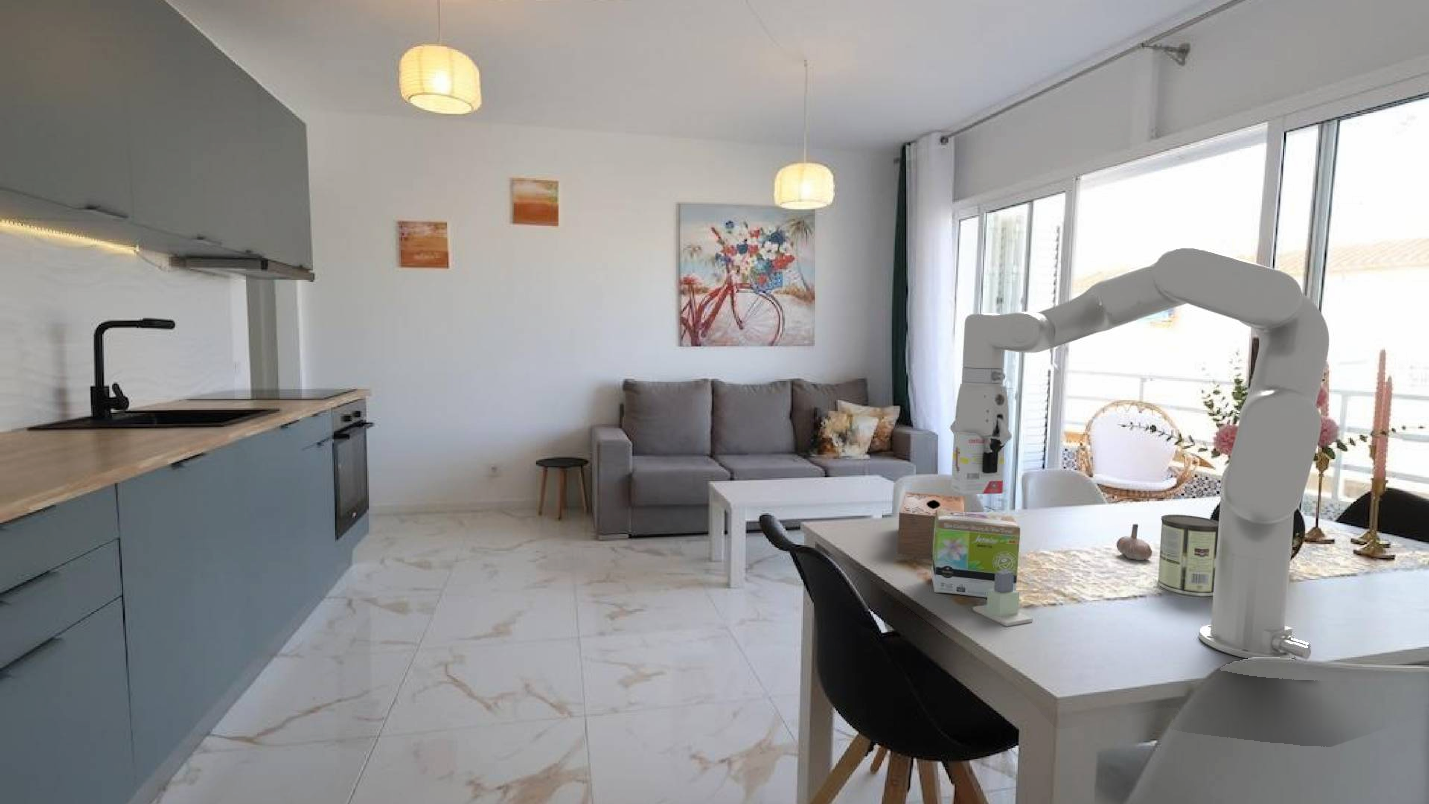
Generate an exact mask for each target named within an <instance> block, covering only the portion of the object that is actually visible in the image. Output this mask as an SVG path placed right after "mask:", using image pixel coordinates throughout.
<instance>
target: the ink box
mask: <svg viewBox="0 0 1429 804" xmlns="http://www.w3.org/2000/svg"><path fill="white" fill-rule="evenodd" d="M998 435H999V436H1000V434H999V433H998ZM992 436H993V434H992ZM992 443H993V440H991V444H992ZM952 445H953V446H952V465H951V481H950V483H951V484H950V485H951V486H950V489H951V490H952V491H954V492H957V493H959V494H961V495H989V494H990V495H993V494H995V495H996V494H1003V489H1004V488H1003V487H1004V469H1005V468H1004V464H1005V463H1004V462H1005V446H1004V447H1003V448H1002V449H1001V452H998V467H997V472H996V473H983V472H982V466H983V452H986V449H985V444H984V439H983V437H980V436H979V435H978V433H969V432H954V434H953V444H952Z"/></svg>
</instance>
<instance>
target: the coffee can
mask: <svg viewBox="0 0 1429 804" xmlns="http://www.w3.org/2000/svg"><path fill="white" fill-rule="evenodd" d="M1160 520H1161V527H1160V528H1161V529H1160V530H1161V531H1160V547H1159V558H1158V559H1159V560H1158V575H1157V576H1158V577H1157V585H1158V586H1159V587H1160V586H1161V588H1162V589H1164V588H1165V589H1164V590H1167V591H1169V592H1173V593H1177V594H1181V595H1185V596H1196V597H1213V592H1214V579H1215V566H1216V553H1217V542H1218V529H1219V520H1215V519H1212V518H1209V517H1208V518H1207V517H1203V516H1195V515H1189V514H1186V515H1185V514H1166V515H1162V516H1160Z"/></svg>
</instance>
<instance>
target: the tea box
mask: <svg viewBox="0 0 1429 804" xmlns="http://www.w3.org/2000/svg"><path fill="white" fill-rule="evenodd" d="M1020 540H1021V527H1020V526H1019V524H1018V522H1017V521H1016V520H1015V518H1014V517H1013V516H1012V515H1005V514H992V513H991V514H990V513H983V512H982V513H979V512H971V511H970V512H969V511H965V512H959V511H947V510H936V512H935V524H934V539H933V554H932V558H931V574H930V576H931V577H930V578H931V581H932V585H933V592H934V593H940V594H941V593H943V594H956V595H962V596H963V595H964V596H971V597H978V598H979V597H980V598H987V595H988V589H994V584H995V572H996V571H1003V570H1008V571H1011V572H1014V582H1013V590H1016V591H1017V582H1018V581H1017V580H1018V566H1019V552H1020Z"/></svg>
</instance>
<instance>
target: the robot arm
mask: <svg viewBox="0 0 1429 804" xmlns="http://www.w3.org/2000/svg"><path fill="white" fill-rule="evenodd" d="M1187 304H1189V305H1191V306H1194V307H1196V308H1199V309H1202V310H1206V311H1209V312H1212V313H1214V314H1218V315H1221V316H1223V317H1227V318H1230V319H1233V320H1236V321H1239V322H1240V323H1241V324H1243V325H1245V326H1247V327H1249V328H1252V330H1254V331H1255V333H1256V335H1257V337H1258V344H1259V346H1258V352H1257V357H1256V358H1255V359H1256V360H1255V366H1254V369H1253V374H1252V377H1251V381H1250V384H1249V389H1248V391H1247V395H1246V398H1245V400H1244V403H1243V404H1242V407H1241V409H1240V412H1239V420H1238V421H1239V422H1238V426H1237V429H1236V435H1235V437H1234V442H1233V446H1232V449H1231V453H1230V457H1229V460H1228V464H1227V466H1226V467H1225V468H1224V470H1223V472H1222V476H1221V481H1220V501H1219V503H1220V504H1219V517H1218V522H1219V529H1218V542H1217V553H1216V566H1215V579H1214V592H1213V596H1212V606H1211V607H1212V608H1211V617H1210V619H1211V620H1210V624H1208V625H1204V626H1202V627H1199V629H1198V637H1199V640H1201V641H1202V643H1204V644H1206V645H1208V646H1210V647H1211V648H1213V649H1215V650H1217V651H1219V652H1223V653H1226V654H1228V655H1232V656H1235V657H1239V658H1243V659H1247V658H1252V657H1280V658H1293V659H1294V658H1295V657H1298V658H1301V659H1304V660H1308V659H1309V658H1310V656H1311V654H1312V649H1311V648H1312V647H1311V643H1309V642H1307V641H1306V642H1305V641H1304V640H1300V639H1299V640H1298V639H1296V638H1294V636H1293V635H1292V634H1293V627H1290V626H1286V625H1285V624H1286V615H1287V605H1288V603H1287V601H1288V591H1289V580H1290V569H1291V567H1290V566H1291V559H1292V558H1291V557H1292V551H1293V550H1292V549H1293V548H1292V547H1293V533H1294V532H1293V531H1294V519H1295V518H1294V516H1295V515H1294V514H1295V512H1296V511H1297V510H1298V507H1299V506H1300V504H1301V502H1302V499H1303V496H1304V493H1305V490H1306V488H1307V483H1308V481H1309V477H1310V474H1311V473H1310V472H1311V470H1312V466H1313V463H1314V459H1315V455H1316V453H1317V448H1318V445H1319V441H1320V437H1321V431H1322V417H1321V413H1320V410H1319V408H1318V406H1317V402H1318V398H1319V394H1320V390H1321V386H1322V383H1323V379H1324V378H1323V377H1324V373H1325V369H1326V365H1327V364H1326V363H1327V360H1328V355H1329V348H1330V336H1329V335H1330V333H1329V329H1328V326H1327V322H1326V320H1325V318H1324V315H1323V314H1322V312H1321V310H1320V309H1319V308H1318V306H1317V305H1316V303H1314V302H1313V300H1311V299H1310V298H1309V297H1308V296H1307V295H1306V294H1305V293H1303V292H1302V288H1301V285H1300V284H1299V283H1298V281H1297V280H1296V279H1295V278H1294V277H1293V276H1291V275H1290V274H1288V273H1286V272H1284V271H1282V270H1279V269H1276V268H1272V267H1270V266H1269V267H1268V266H1267V265H1266V266H1265V265H1262V264H1259V263H1254V262H1250V261H1249V260H1244V259H1240V258H1237V257H1233V256H1230V255H1226V254H1222V253H1220V252H1216V251H1213V250H1209V249H1206V248H1204V247H1199V246H1195V245H1182V246H1178V247H1173V248H1172V249H1169V250H1167V251H1166V252H1165V253H1163V254H1162V255H1161V256H1160V257H1158V259H1157V260H1154V261H1151V262H1148V263H1146V264H1144V265H1142V266H1138V267H1136V268H1133V269H1130V270H1128V271H1124V272H1122V273H1119V274H1116V275H1114V276H1111V277H1108V278H1106V279H1103V280H1100V281H1098V282H1096V283H1095V284H1093V285H1092V286H1090V287H1089V288H1088V289H1087V290H1086V291H1084V292H1083V293H1081V294H1080V295H1078V296H1076V297H1074V298H1072V299H1070V300H1068V301H1066V302H1063V303H1060V304H1058V305H1055V306H1053V307H1050V308H1047V309H1045V310H1042V311H1037V312H1032V311H1017V312H1012V313H1003V314H999V313H987V312H986V313H984V312H983V313H971V314H969V315H967V316H966V318H965V321H964V330H963V331H964V332H963V347H962V348H963V350H962V368H961V369H962V370H961V372H962V373H961V383H960V385H959V388H958V394H957V399H956V406H955V417H954V421H953V422H952V424H951V425H950V427H949V429H950V431H951V433H952V434H953V435H954V432H969V433H978V435H979V436H980V437H983V439H984V444H985V449H986V452H983V466H982V472H983V473H996V472H997V467H998V452H1001V449H1002V448H1003V447H1004V448H1005V445H1006V444H1007V443H1008V442H1009V441H1010V440H1011V439H1012V438H1013V437H1012V433H1011V432H1010V430H1009V427H1010V426H1009V423H1010V420H1009V417H1010V415H1009V414H1010V413H1009V398H1008V397H1009V396H1008V391H1007V387H1006V386H1005V385H1004V380H1005V378H1006V373H1005V372H1004V370H1005V369H1004V368H1005V351H1010V352H1016V353H1027V354H1030V353H1031V354H1034V353H1040V352H1044V351H1047V350H1051V349H1054V348H1056V347H1059V346H1061V345H1066V344H1069V343H1071V342H1075V341H1077V340H1080V339H1083V338H1086V337H1089V336H1091V335H1095V334H1097V333H1103V332H1106V331H1109V330H1112V329H1114V328H1117V327H1120V326H1123V325H1126V324H1129V323H1132V322H1135V321H1138V320H1140V319H1144V318H1147V317H1149V316H1152V315H1155V314H1159V313H1161V312H1166V311H1168V310H1169V311H1170V310H1172V309H1174V308H1177V307H1181V306H1184V305H1187ZM998 433H999V434H1000V436H999V435H998ZM992 434H993V436H992ZM991 440H993V443H992V444H991Z"/></svg>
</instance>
